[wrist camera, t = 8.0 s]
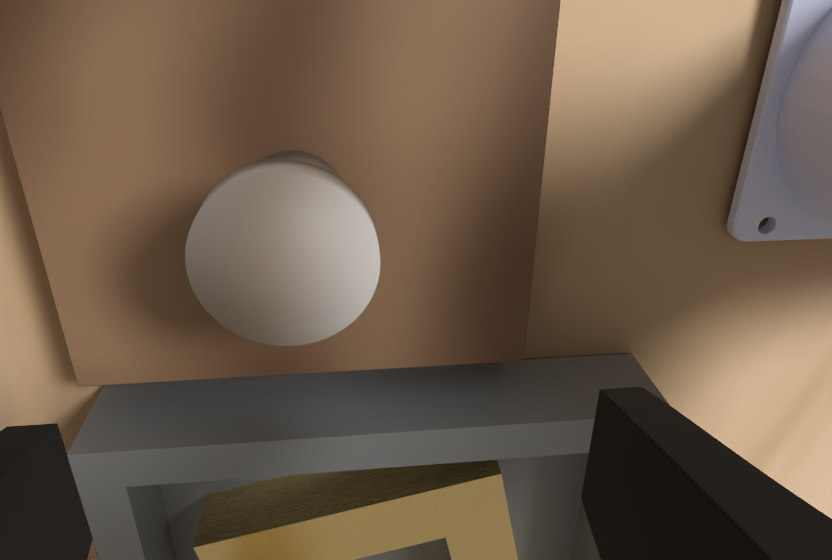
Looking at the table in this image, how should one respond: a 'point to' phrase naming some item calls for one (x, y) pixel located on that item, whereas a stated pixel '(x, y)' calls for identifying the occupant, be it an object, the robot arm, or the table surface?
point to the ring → (361, 514)
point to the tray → (345, 444)
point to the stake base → (251, 92)
